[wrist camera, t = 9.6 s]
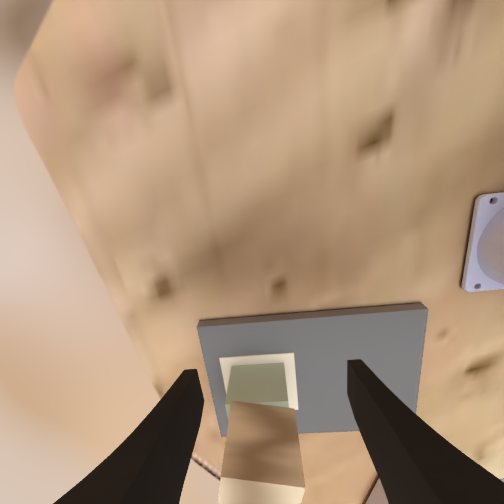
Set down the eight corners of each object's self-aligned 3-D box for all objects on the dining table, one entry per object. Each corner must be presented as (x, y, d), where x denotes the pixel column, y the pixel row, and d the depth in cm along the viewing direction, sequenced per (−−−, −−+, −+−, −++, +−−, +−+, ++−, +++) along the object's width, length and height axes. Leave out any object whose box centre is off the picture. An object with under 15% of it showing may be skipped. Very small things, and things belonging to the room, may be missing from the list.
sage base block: (283, 362, 22) (288, 401, 19) (287, 402, 24) (292, 446, 20) (231, 365, 23) (224, 404, 19) (238, 405, 24) (234, 448, 20)
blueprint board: (420, 302, 21) (428, 309, 20) (408, 419, 25) (414, 429, 24) (199, 320, 23) (196, 327, 22) (222, 427, 27) (221, 437, 26)
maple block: (294, 408, 19) (305, 487, 14) (284, 451, 20) (290, 536, 16) (231, 400, 19) (220, 477, 14) (225, 444, 20) (214, 526, 16)
